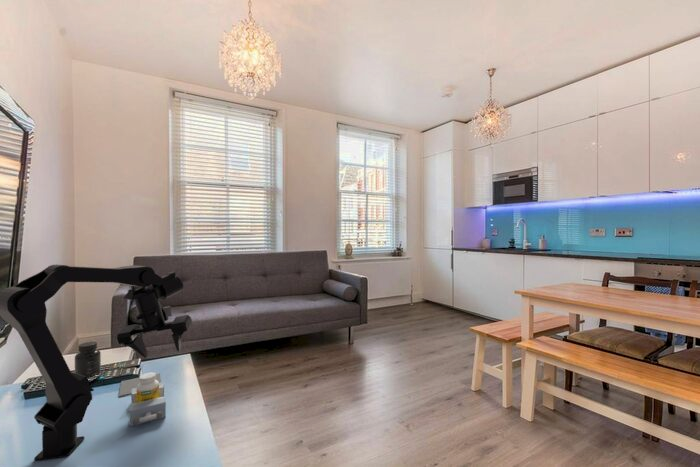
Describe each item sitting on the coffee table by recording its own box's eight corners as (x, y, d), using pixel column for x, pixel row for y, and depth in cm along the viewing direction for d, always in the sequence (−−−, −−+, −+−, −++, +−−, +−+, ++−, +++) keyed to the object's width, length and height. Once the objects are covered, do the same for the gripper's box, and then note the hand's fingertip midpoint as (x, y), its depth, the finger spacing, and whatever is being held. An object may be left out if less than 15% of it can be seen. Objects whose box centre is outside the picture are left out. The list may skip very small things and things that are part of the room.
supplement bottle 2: (156, 402, 94) (156, 369, 94) (161, 409, 90) (161, 375, 90) (134, 409, 90) (134, 375, 90) (139, 417, 86) (138, 381, 86)
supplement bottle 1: (69, 382, 106) (69, 346, 105) (91, 373, 112) (91, 339, 112) (84, 385, 104) (84, 348, 103) (105, 376, 110) (105, 341, 110)
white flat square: (161, 387, 102) (161, 386, 102) (118, 397, 96) (118, 395, 96) (160, 374, 112) (160, 373, 112) (121, 382, 106) (121, 381, 106)
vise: (166, 422, 84) (166, 407, 84) (129, 432, 80) (128, 416, 80) (163, 394, 98) (163, 381, 98) (132, 402, 94) (131, 388, 94)
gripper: (190, 289, 102) (202, 333, 106) (126, 300, 99) (141, 344, 103) (179, 305, 91) (192, 353, 95) (107, 318, 88) (124, 366, 92)
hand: (162, 353), depth 97 cm, fingers open, 9 cm apart
